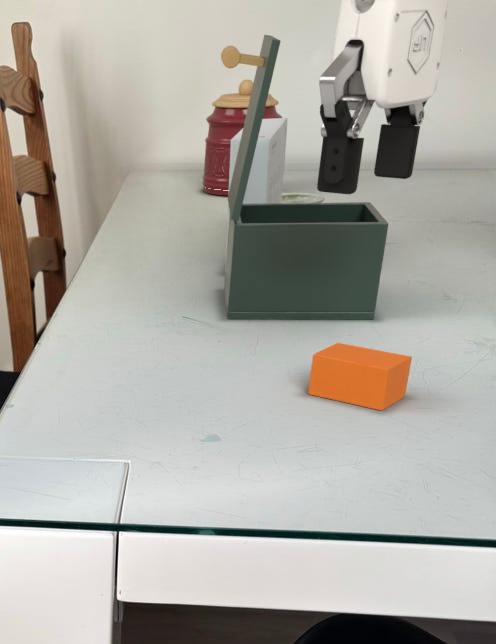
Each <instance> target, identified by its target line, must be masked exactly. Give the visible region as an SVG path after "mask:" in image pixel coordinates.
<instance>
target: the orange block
mask: <svg viewBox="0 0 496 644" xmlns="http://www.w3.org/2000/svg"><path fill="white" fill-rule="evenodd" d="M412 358H413V356H411V355H404V354H399V353H394V352H390V351H385V350H379V349H373V348H368V347H363V346H357V345H353V344H347V343H342V342H336V343H334V344H331V345H330V346H328V347H326V348H324V349H321V350H320V351H318V352H315V353H313V354H312V359H311V360H312V361H311V369H310V376H309V382H308V383H309V384H308V391H307V394H308V395H310V396H315V397H319V398H323V399H328V400H332V401H337V402H342V403H345V404H350V405H354V406H359V407H363V408H367V409H372V410H375V411H376V410H377V411H381V412H382V411H384V410H385V409H387V408H389V407H391V406H392V405H394V404H395V403H398V402H399V401H401V400H403V399H404V398H405V397H406V394H407V393H406V392H407V386H408V381H409V376H410V370H411V364H412V361H413V360H412Z"/></svg>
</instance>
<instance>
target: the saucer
mask: <svg viewBox="0 0 496 644" xmlns="http://www.w3.org/2000/svg"><path fill="white" fill-rule="evenodd" d="M324 201H325V197H324V196H323V195H321V194H317V193H310V192H282V203H324Z"/></svg>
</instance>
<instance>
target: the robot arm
mask: <svg viewBox="0 0 496 644" xmlns="http://www.w3.org/2000/svg"><path fill="white" fill-rule="evenodd" d="M448 3H449V0H340V4H339V10H338V14H337V20H336V26H335V32H334V38H333V43H332V50H331V51H332V52H331V58H330V64H329V66H328V67H327V68H326V69H325V70H324V71H323V72H322V74H321V75H320V77H319V82H318V85H319V94H320V106H319V115H320V118H321V122H322V123H321V126H320V136H321V137H322V143H321V144H322V145H321V151H320V160H319V168H318V175H317V182H316V183H317V184H316V189H317V191H318V192H319V193H329V194H337V195H338V194H340V195H352V194H354V193H356V192H357V189H358V184H359V183H358V182H359V175H360V169H361V162H362V156H363V148H364V141H365V137H359V135H360V133H361V132H362V129H363V127H364V125H365V123H366V121H367V119H368V117H369V114H370V112H371V110H372V109H373V106H374V103H375V105H376V106H377V107H378V108H380V109H383V111H384V114H385V120H386V123H383V124H381V125H380V131H379V137H378V143H377V144H378V145H377V150H376V157H375V163H374V169H373V174H374V176H375V177H378V178H390V179H401V180H402V179H403V180H407V179H410V177H412V175H413V172H414V164H415V158H416V153H417V148H418V141H419V136H420V130H421V125H422V124H423V122H424V119H425V109H424V108H425V106H426V104H427V102H428V100H430V98H431V97H432V96H434V94H435V92H436V90H437V86H438V81H439V75H440V65H441V61H442V55H443V53H442V52H443V45H444V40H445V39H444V38H445V31H446V21H447V13H448V5H449V4H448ZM351 111H354V112H353V114H351Z"/></svg>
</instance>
